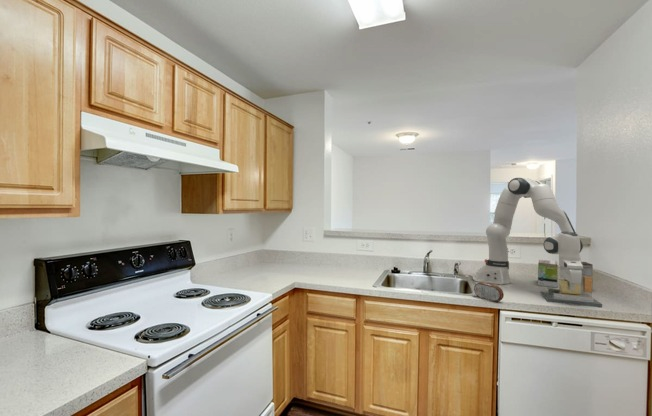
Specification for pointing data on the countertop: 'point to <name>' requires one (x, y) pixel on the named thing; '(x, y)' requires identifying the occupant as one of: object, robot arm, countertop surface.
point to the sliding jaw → (586, 287)
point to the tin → (488, 291)
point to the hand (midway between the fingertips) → (569, 289)
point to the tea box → (547, 273)
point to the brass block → (565, 288)
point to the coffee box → (587, 272)
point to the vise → (571, 299)
